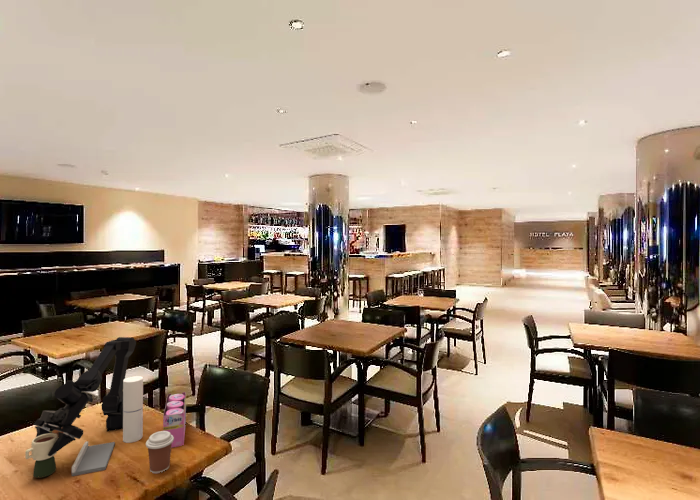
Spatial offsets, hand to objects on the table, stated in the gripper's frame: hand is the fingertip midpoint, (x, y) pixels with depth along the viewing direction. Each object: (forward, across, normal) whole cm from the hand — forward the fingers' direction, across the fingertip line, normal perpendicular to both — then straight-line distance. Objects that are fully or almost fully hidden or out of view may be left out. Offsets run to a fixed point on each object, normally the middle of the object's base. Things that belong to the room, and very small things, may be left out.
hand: (40, 453), depth 129 cm
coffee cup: (-7, +35, +19) cm, 40 cm away
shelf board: (-4, +8, +16) cm, 18 cm away
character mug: (+5, 0, +7) cm, 8 cm away
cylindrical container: (-15, +8, +27) cm, 32 cm away
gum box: (-22, +22, +34) cm, 45 cm away
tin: (-8, -23, +20) cm, 32 cm away
